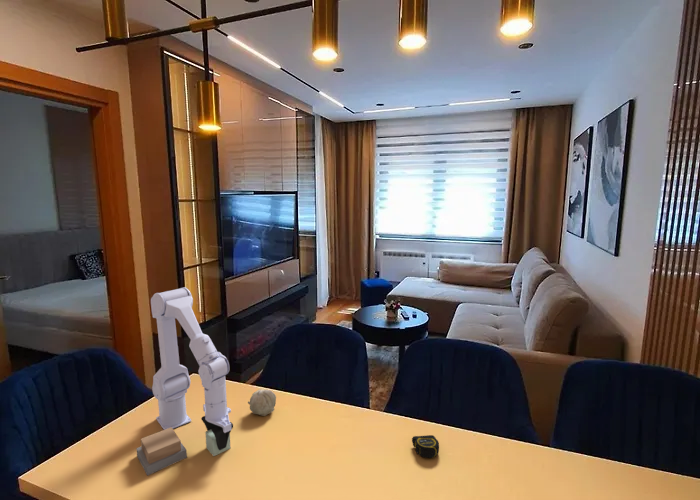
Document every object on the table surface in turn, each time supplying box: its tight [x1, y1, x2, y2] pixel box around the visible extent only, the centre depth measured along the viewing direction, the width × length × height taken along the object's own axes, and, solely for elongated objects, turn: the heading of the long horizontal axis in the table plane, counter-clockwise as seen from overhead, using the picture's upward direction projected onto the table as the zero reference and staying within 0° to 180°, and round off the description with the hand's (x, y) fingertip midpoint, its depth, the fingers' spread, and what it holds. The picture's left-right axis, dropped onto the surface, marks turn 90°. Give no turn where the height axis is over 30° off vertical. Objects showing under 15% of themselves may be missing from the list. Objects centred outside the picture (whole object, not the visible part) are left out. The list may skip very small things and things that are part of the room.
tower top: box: [140, 427, 182, 464], centre depth 102 cm, size 8×8×3 cm
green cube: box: [204, 430, 231, 457], centre depth 106 cm, size 5×5×5 cm
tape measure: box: [411, 434, 440, 459], centre depth 105 cm, size 7×7×4 cm
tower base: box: [135, 442, 188, 477], centre depth 103 cm, size 10×10×3 cm
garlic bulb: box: [247, 388, 277, 417], centre depth 123 cm, size 9×8×10 cm
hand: (218, 443), depth 106 cm, fingers closed on green cube, 5 cm apart
